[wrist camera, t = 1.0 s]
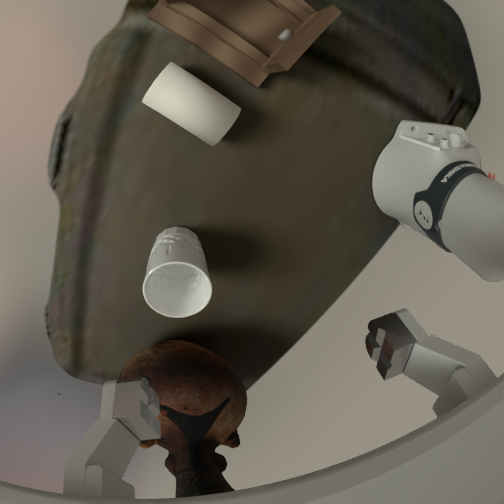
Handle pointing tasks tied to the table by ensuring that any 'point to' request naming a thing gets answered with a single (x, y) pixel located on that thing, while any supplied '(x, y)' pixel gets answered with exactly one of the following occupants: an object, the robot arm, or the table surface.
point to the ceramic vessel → (192, 411)
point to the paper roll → (191, 104)
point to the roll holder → (246, 31)
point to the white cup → (177, 274)
